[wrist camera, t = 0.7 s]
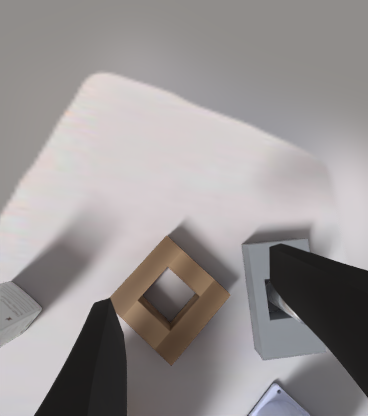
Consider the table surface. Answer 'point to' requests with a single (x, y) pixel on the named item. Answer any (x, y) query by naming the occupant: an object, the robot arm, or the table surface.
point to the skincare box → (15, 311)
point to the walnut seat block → (151, 318)
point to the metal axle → (280, 302)
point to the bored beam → (274, 320)
